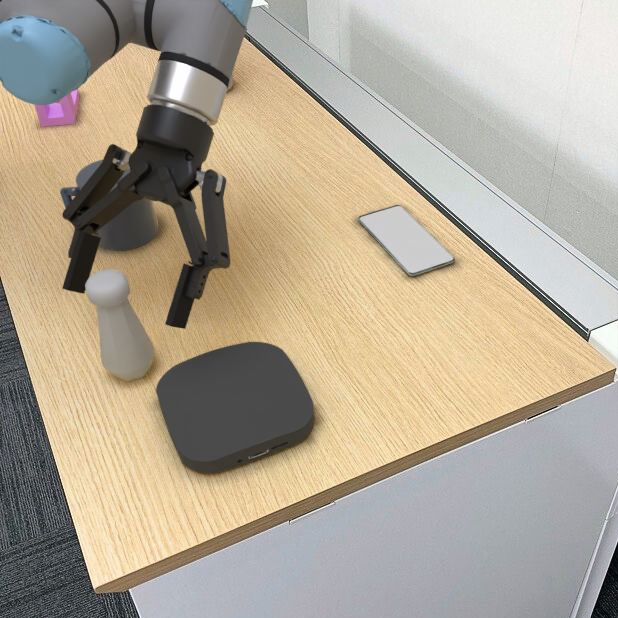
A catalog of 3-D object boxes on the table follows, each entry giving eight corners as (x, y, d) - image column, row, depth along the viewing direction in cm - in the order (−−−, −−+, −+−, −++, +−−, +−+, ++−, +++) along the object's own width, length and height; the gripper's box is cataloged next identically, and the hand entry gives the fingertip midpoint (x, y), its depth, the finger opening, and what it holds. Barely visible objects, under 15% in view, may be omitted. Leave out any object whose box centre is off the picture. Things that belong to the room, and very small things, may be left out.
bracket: (75, 123, 126) (63, 84, 121) (41, 126, 125) (28, 87, 121) (80, 90, 135) (70, 53, 130) (49, 93, 135) (37, 55, 130)
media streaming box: (152, 388, 81) (146, 369, 79) (276, 348, 85) (273, 329, 83) (189, 487, 71) (183, 468, 69) (326, 436, 76) (325, 417, 74)
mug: (162, 212, 106) (150, 155, 100) (154, 249, 100) (140, 191, 93) (80, 215, 106) (62, 159, 99) (67, 253, 99) (47, 195, 93)
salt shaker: (134, 394, 80) (105, 303, 71) (95, 376, 82) (62, 285, 73) (169, 361, 84) (145, 270, 75) (130, 344, 86) (103, 254, 77)
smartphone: (399, 203, 106) (456, 259, 96) (399, 207, 106) (456, 262, 96) (356, 216, 103) (410, 275, 94) (356, 219, 104) (410, 278, 94)
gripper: (298, 151, 77) (238, 345, 78) (109, 107, 85) (57, 282, 86) (267, 126, 70) (202, 339, 71) (65, 80, 78) (8, 272, 79)
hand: (122, 308), depth 78 cm, fingers open, 13 cm apart
